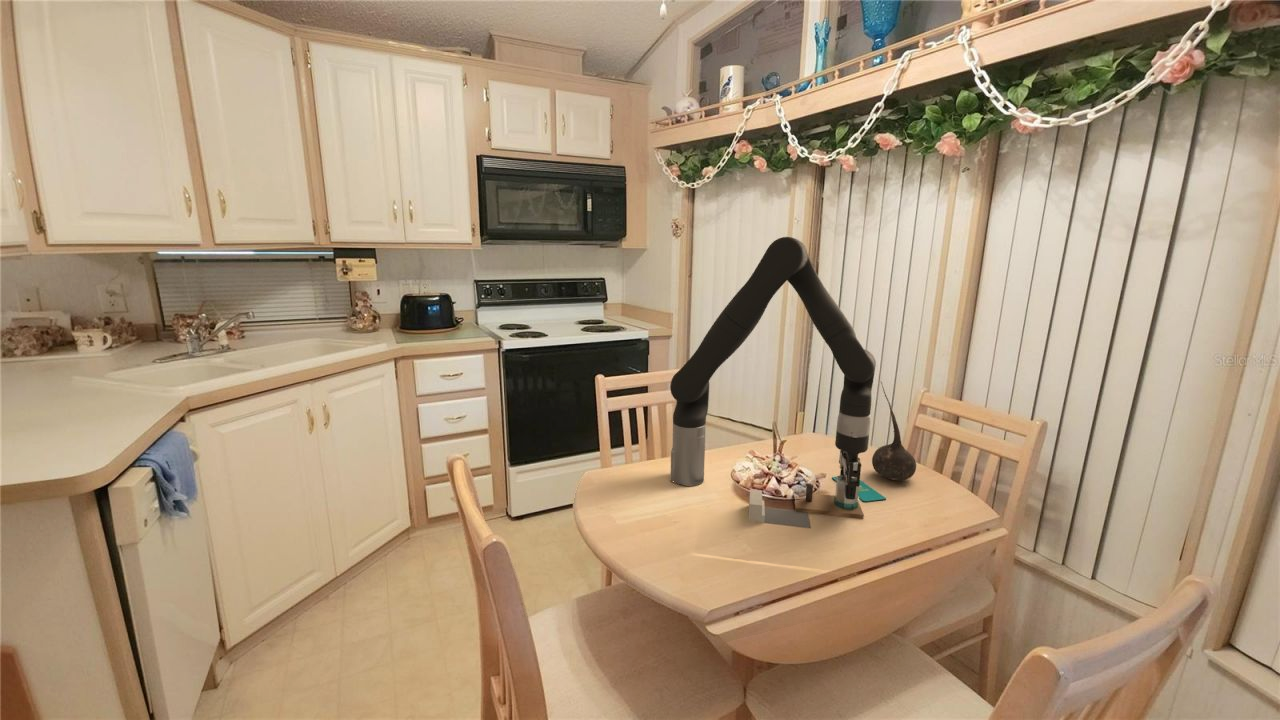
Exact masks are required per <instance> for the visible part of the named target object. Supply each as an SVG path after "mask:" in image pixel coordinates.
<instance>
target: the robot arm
mask: <svg viewBox="0 0 1280 720" xmlns="http://www.w3.org/2000/svg"><path fill="white" fill-rule="evenodd" d="M786 282H788V283H789V284H790V285H791V286H792V287H793V289H794V290H795V292H796V293H797V295H798V296H799V298H800V300H801V302H802V304H803V305H804V308H805V309H806V312H807V314H808V316H809V318H810V319H811V322H812V323H813V325H814V327H815V329H816V330H817V331H818V333H819V334H820V336H821V337H822V338H821V339H823V341H824V342H825V344H827V346H828V347H829V349H830V351H831V353H832V355H833V357H834V360H835V361H836V364H837V365H838V367H839V369H840V370H841V372H842V374H843V375H844V376H843V387H842V391H841V394H840V399H839V410H838V415H837V421H836V428H835V429H836V431H835V442H834V445H835V447H836V449H838V450H840V451H839V459H838V464H839V469H840V472H839V473H840V474H839V476H840V475H845V476H846V491H845V497H846V499H852V500H854V499H855V494H856V486H857V487H859V485H860V480H861V470H862V462H861V458H860V457H859V454H862V453H866V452H867V451H868V449H869V440H870V439H869V438H870V429H871V410H872V389H873V384H874V378H875V371H876V366H877V365H876V358H875V356H874V354H872V352H871V351H869V350H867V349H864V347H863V346H862V344H861V343H860V341H859V340H858V338H857V335H856V334H857V333H856V332H855V330H854V327H853V326H852V324H851V322H850V321H849V320H848V318H847V317H846V315H845V314H844V312H843V311H842V310H841V308H840V307H839V305H838V304H837V302H836V301H835V299H834V298H833V297H832V296H831V294H830V293H829V291H828V290H827V288H826V287H825V285H824V283H823V282H822V280H821V279H820V277H819V275H818V274H817V271H816V270H815V267H814V265H813V263H812V261H811V259H810V256H809V254H808V250H807V247H806V245H805V244H804V243H803V242H802V241H801V240H799V239H797V238H795V237H792V236H783V237H779V238H777V239H775V240H773V242H771V243H770V244H769V246H768V247H767V249H766V250H765V251H764V254H763V256H762V257H761V259H760V261H759V263H758V264H757V266H756V267H755V269H754V271H753V272H752V274H751V275H750V277H749V278H748V280H747V281H746V282H745V284H744V285H743V286H742V287H741V288H740V289H739V290H738V291H737V292H736V294H735V295H734V296H733V297H732V298H731V300H730V301H729V302H728V303H727V305H726V306H725V307H724V309H722V310H721V313H720V314H719V315H718V316H717V318H716V319H715V321H714V322H713V324H712V325H711V327H710V328H709V329H708V331H707V333H706V334H705V336H704V337H703V339H702V340H701V342H700V344H699V346H698V347H697V349H696V350H695V351H694V353H693V355H692V356H691V357H690V358H689V359H688V360H687V361H686V362H685V364H683V365H682V367H681V368H680V369H679V370H678V371H677V372H676V373H675V374H674V375H673V377H671V378H672V379H671V382H670V387H669V389H670V393H671V396H672V397H673V399H674V400H675V401H676V404H675V408H674V411H673V413H672V446H671V447H672V448H671V450H670V482H671V481H674V482H673V483H675V482H676V483H675V484H677V483H678V484H677V485H679V484H682V485H681V486H683V485H686V486H685V487H693V486H694V487H695V486H698V484H699V485H701V484H703V483H704V481H705V457H706V453H705V451H706V426H707V425H706V424H707V422H706V421H707V415H708V411H709V400H710V397H709V396H710V381H711V378H712V377H713V375H714V374H715V373H716V371H717V370H718V369H719V368H720V366H722V365H723V364H724V363H725V362H726V361H727V360H728V359H729V358H730V357H731V356H732V355H733V354H734V353H735V352H736V351H737V350H738V349H739V348H740V347H741V345H743V343H744V342H745V341H746V340H747V338H748V337H749V336H750V335H751V333H752V332H753V331H754V329H755V328H756V327H757V325H758V324H759V323H760V320H761V319H762V318H763V315H764V314H765V311H766V309H767V307H768V306H769V304H770V302H771V300H772V299H773V297H774V296H775V294H777V292H778V291H779V290H780V289H781V287H782V286H783V285H784V284H785V283H786ZM851 477H854V479H855V481H853V480H851Z"/></svg>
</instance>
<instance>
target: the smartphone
mask: <svg viewBox="0 0 1280 720" xmlns="http://www.w3.org/2000/svg"><path fill="white" fill-rule="evenodd" d="M831 480H832V481H834V482H835V483H836V482H837V476H832V477H831ZM858 499H859V500H860V501H861V502H862V503H873V502H883V501H886V500H887V497H885V496H884V495H882V494H881V493H879V492H878V491H877V490H876V489H874V488H872V487H871V486H869V485H868V484H866V483H865V482H863V481H862V480H861V479H860V485H859V492H858Z"/></svg>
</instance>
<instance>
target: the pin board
mask: <svg viewBox="0 0 1280 720" xmlns="http://www.w3.org/2000/svg"><path fill="white" fill-rule="evenodd" d="M813 491H814V483H810V482H808V483H806V489H805V493H806V498H805V499H800V500H795V501H794V500H793V502H794V508H795V509H794V510H796V511H798V512H807V513H808V514H817V515H824V516H836V517H842V518H843V517H845V518H854V519H864V517H865V515H864V512H863V508H862V507H861V505H860V502H859V501H858V508H856V509H854V510H845V509H841V508H839V507H837V506H836V505H835V503H834V496H835V494H834V495H831V494H822V493H814V492H813ZM813 493H814V494H813Z"/></svg>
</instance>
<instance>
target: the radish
mask: <svg viewBox="0 0 1280 720" xmlns="http://www.w3.org/2000/svg"><path fill="white" fill-rule="evenodd" d="M880 384H881V388H882V390H883V394H884V397H885V399H886V400H887V403H888V406H889V407H888V408H889V409H890V410H889V411H890V415H891V420H892V421H891V422H892V425H893V431H892V432H893V440H892V443H889V444H885V445H882V446H880V447H878V448H877V449H876V450H875V451H874V453H873V455H872V457H871V463H872V468H873V469H874V471H875V472H876V473H877V474H878V475H879V476H881V477H883V478H885V479H889V480H890V481H891V480H893V481H898V482H900V481H907V480H908V479H911V478H912V477H913V476H914V475H915V473H916V470H917V461H916V459H915V457H914V456H913V455H912V454H911V452H909V451H908V450H906V448H905V447H904V445H903V444H902V439H901V433H900V428H899V425H898V422H897V419H896V415H895V413H894V411H893V409H892V405H891V403H890V401H889V398H888V396H887V395H886V390H885V388H884V385H883V382H882V381H880Z"/></svg>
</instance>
